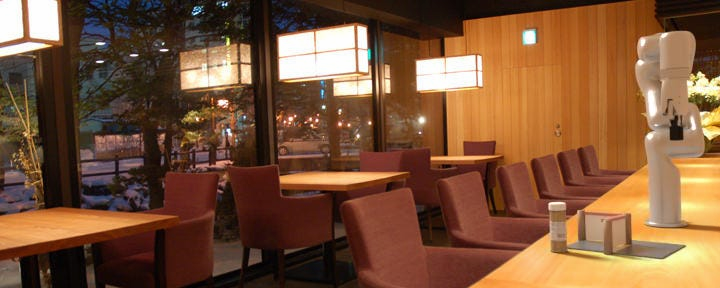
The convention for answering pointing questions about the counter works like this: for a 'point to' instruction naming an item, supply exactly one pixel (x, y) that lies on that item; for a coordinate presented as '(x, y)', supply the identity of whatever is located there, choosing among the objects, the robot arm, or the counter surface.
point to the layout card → (630, 248)
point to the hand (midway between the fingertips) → (676, 140)
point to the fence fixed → (601, 228)
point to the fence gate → (617, 229)
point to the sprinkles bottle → (558, 227)
